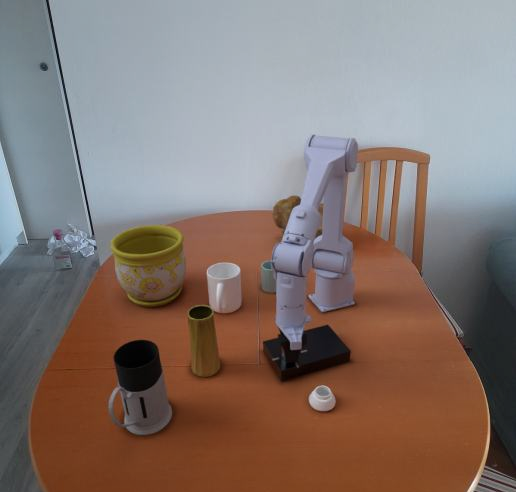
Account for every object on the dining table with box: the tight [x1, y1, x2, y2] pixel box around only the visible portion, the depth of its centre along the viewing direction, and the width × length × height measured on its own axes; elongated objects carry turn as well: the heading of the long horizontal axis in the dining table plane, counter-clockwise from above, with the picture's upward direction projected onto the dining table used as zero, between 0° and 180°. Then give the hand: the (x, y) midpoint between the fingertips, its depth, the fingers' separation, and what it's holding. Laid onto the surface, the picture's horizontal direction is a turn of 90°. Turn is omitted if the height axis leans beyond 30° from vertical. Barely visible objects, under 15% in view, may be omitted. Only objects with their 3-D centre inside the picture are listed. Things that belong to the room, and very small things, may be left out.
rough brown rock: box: [272, 195, 346, 240], centre depth 140 cm, size 23×17×15 cm
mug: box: [206, 262, 243, 314], centre depth 110 cm, size 12×8×10 cm
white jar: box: [308, 385, 337, 412], centre depth 84 cm, size 5×3×5 cm
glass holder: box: [108, 339, 173, 436], centre depth 77 cm, size 9×14×15 cm, turn 167°
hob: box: [262, 324, 352, 382], centre depth 96 cm, size 16×10×3 cm, turn 111°
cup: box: [260, 259, 276, 294], centre depth 120 cm, size 5×5×7 cm
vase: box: [187, 304, 221, 378], centre depth 91 cm, size 6×6×14 cm
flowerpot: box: [109, 224, 187, 308], centre depth 116 cm, size 18×18×16 cm
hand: (289, 354), depth 93 cm, fingers open, 4 cm apart
